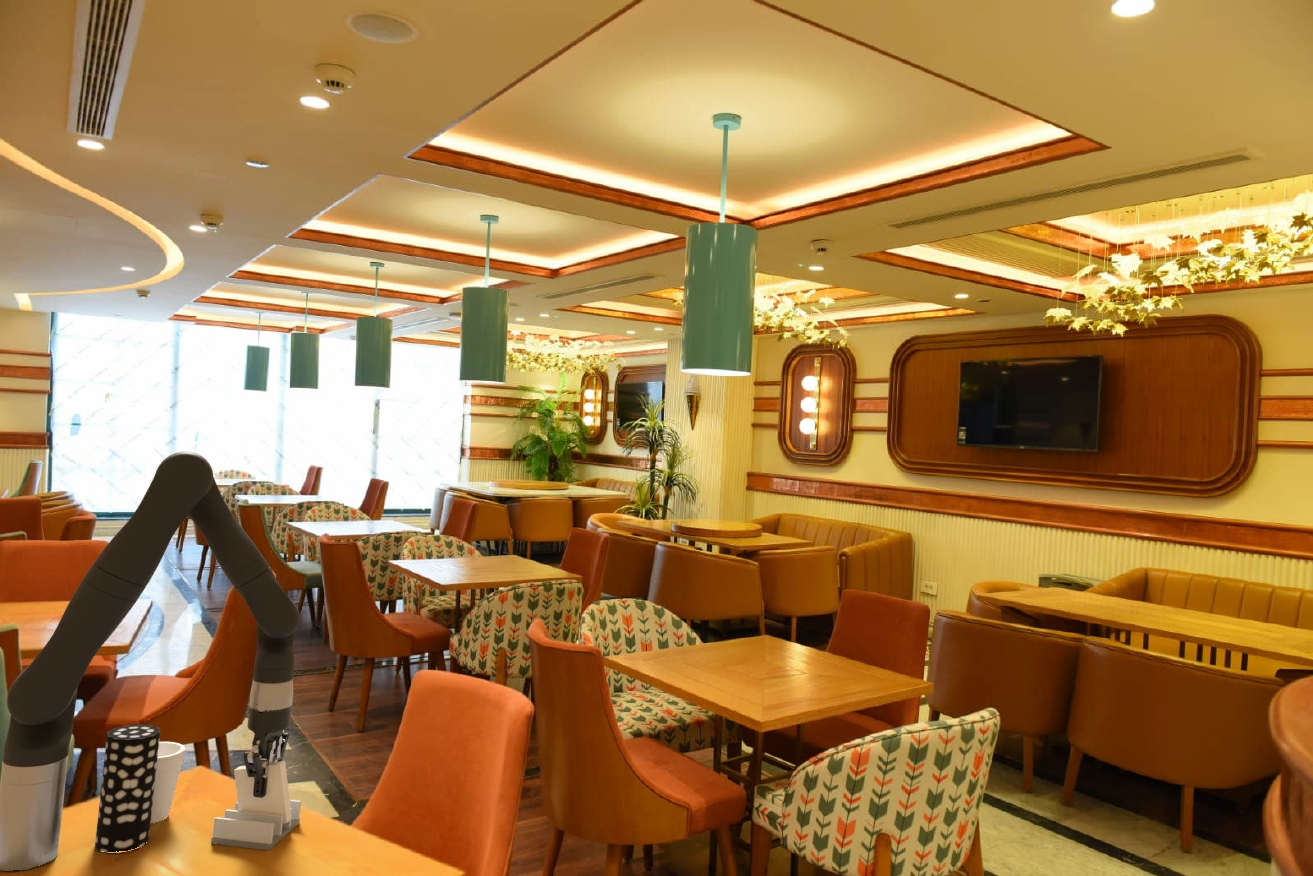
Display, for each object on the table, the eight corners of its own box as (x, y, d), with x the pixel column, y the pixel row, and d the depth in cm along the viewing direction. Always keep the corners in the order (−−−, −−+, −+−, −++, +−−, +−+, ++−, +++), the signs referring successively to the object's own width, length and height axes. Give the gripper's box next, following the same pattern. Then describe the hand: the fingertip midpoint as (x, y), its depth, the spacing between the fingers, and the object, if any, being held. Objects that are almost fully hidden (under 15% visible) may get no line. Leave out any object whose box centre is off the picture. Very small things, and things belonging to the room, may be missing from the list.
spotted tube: (123, 857, 150) (135, 742, 151) (83, 849, 152) (95, 735, 152) (159, 838, 158) (171, 729, 159) (121, 830, 160) (132, 722, 160)
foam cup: (187, 817, 167) (194, 750, 168) (137, 832, 160) (145, 762, 160) (161, 803, 172) (168, 738, 173) (112, 817, 165) (119, 749, 165)
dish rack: (210, 843, 158) (213, 819, 158) (245, 817, 170) (247, 794, 170) (269, 850, 157) (271, 825, 157) (299, 823, 169) (301, 800, 169)
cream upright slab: (240, 828, 163) (234, 770, 163) (246, 824, 165) (239, 766, 165) (286, 822, 162) (280, 764, 163) (291, 818, 164) (285, 760, 165)
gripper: (269, 691, 171) (261, 779, 171) (232, 711, 157) (223, 806, 157) (306, 694, 171) (298, 782, 170) (272, 715, 157) (263, 810, 157)
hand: (262, 793), depth 164 cm, fingers closed on cream upright slab, 2 cm apart
